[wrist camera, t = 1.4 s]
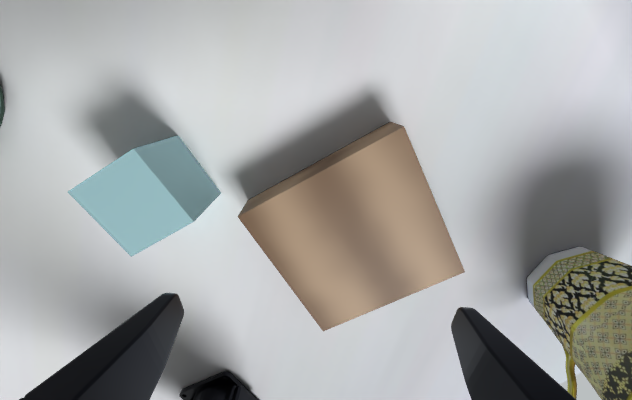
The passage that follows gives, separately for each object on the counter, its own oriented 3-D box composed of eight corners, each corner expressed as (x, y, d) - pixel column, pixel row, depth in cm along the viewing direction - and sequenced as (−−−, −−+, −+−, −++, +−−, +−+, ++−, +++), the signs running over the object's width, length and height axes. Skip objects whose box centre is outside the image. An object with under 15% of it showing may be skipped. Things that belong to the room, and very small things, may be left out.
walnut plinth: (322, 304, 24) (323, 331, 21) (248, 200, 20) (237, 216, 17) (445, 249, 22) (464, 272, 19) (390, 121, 18) (403, 126, 15)
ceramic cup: (562, 210, 21) (761, 303, 12) (648, 255, 22) (883, 367, 13) (462, 321, 25) (549, 453, 16) (541, 352, 27) (661, 487, 18)
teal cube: (171, 221, 21) (131, 256, 16) (126, 168, 19) (67, 191, 15) (221, 192, 20) (193, 221, 16) (178, 135, 18) (133, 148, 14)
